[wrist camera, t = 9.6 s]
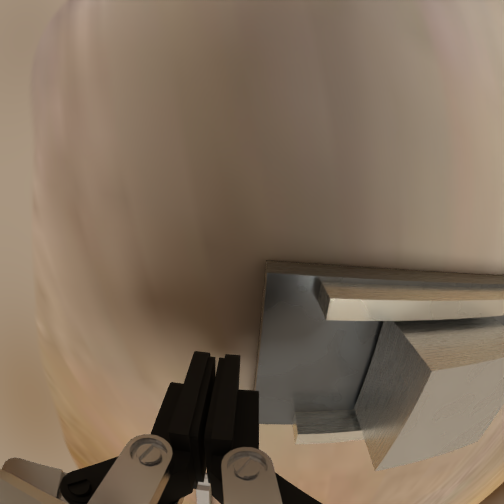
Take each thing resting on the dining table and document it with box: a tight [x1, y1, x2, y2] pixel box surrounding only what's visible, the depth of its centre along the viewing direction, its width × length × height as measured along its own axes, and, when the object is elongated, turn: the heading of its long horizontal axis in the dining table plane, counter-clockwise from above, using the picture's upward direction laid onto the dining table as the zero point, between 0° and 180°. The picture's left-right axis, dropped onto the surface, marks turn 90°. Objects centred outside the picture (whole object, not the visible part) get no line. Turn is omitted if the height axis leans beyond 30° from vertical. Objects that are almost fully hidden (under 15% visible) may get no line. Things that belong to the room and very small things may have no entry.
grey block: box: [354, 316, 504, 471], centre depth 9 cm, size 5×6×4 cm
